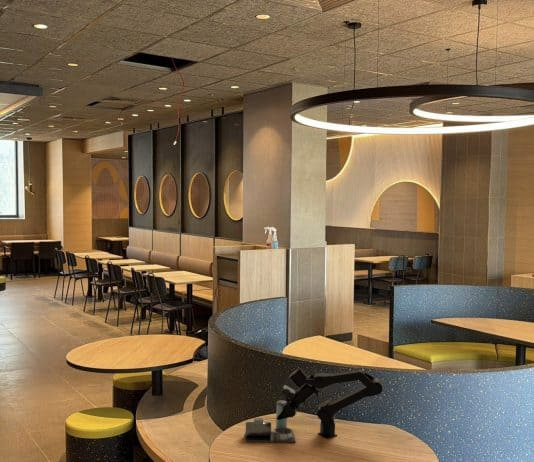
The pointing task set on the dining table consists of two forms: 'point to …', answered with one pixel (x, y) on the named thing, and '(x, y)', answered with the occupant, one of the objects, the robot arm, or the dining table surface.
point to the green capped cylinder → (279, 409)
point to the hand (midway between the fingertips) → (278, 415)
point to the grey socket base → (267, 433)
